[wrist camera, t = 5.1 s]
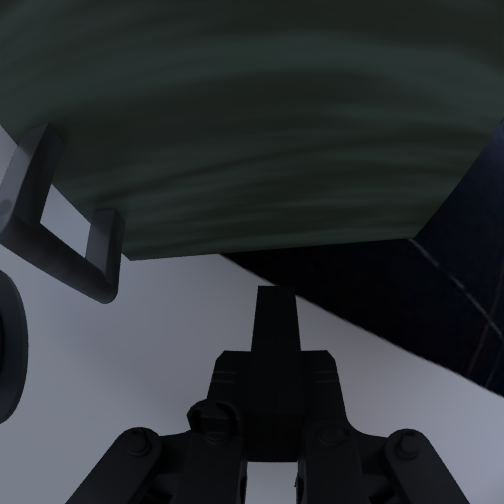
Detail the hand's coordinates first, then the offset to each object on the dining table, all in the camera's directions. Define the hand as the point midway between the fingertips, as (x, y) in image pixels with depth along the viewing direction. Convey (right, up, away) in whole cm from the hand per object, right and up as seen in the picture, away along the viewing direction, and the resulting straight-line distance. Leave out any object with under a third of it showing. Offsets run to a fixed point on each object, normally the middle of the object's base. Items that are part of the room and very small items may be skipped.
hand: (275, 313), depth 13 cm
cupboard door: (+1, +1, +12) cm, 12 cm away
